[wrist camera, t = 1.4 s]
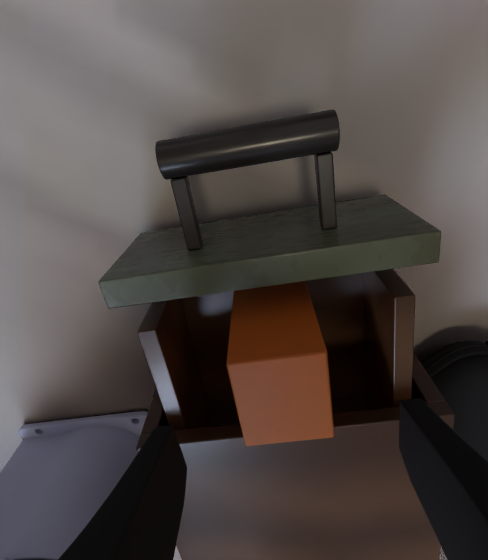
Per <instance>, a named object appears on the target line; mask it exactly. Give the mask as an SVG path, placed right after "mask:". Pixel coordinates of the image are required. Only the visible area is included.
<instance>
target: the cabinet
mask: <svg viewBox="0 0 488 560" xmlns="http://www.w3.org/2000/svg"><path fill="white" fill-rule="evenodd" d="M418 398H421V399H422V400H423V401H424V402H425V403H426V404H427V405H428V406H429V407H430V408H431V409H432V410H433V411H434V412H435V413H436V414H437V415H438V416H439V417H440V418H441V419H442V420H444V421H445V422H446V423H447V424H448V425H449V426H450V427H451V428H452V429H453V425H454V413H453V412H452V410H451V409H450V407H449V406H448V404H447V402H445V399H444V398H443V396H442V395H441V393H440V392H439V390H438V389H437V387H436V386H435V384H434V383H433V381H432V380H431V378H430V377H429V375H428V374H427V372H426V371H425V369H424V368H423V366H422V364H421V363H420V361H419V360H418V358H417V357H416V355H415V354H414V352H413V371H412V397H411V399H418ZM399 415H400V406H397V407H388V408H379V409H370V410H361V411H351V412H342V413H333V425H334V437H332V438H323V439H313V440H303V441H293V442H284V443H274V444H264V445H254V446H246V445H245V443H244V438H243V434H242V430H241V425H240V424H231V425H222V426H213V427H203V428H194V429H185V430H176V431H175V433H176V436H177V439H178V442H179V445H180V448H181V450H182V453H183V456H184V459H185V462H186V465H187V480H186V491H185V501H184V507H183V512H182V517H181V522H180V527H179V532H178V537H177V542H176V546H177V549H178V551H179V553H180V556H181V558H182V560H439V556H440V547H441V545H440V543H439V541H438V538H437V536H436V534H435V532H434V530H433V528H432V526H431V524H430V522H429V519H428V517H427V515H426V513H425V511H424V509H423V507H422V505H421V502H420V500H419V498H418V496H417V494H416V492H415V490H414V487H413V485H412V483H411V481H410V478H409V475H408V472H407V470H406V467H405V464H404V461H403V458H402V455H401V452H400V449H399ZM161 426H169V423H168V420H167V417H166V415H165V412H164V409H163V406H162V403H161V400H160V397H159V394H158V392H157V389H156V390H155V393H154V396H153V399H152V402H151V405H150V408H149V411H148V414H147V417H146V420H145V422H144V425H143V428H142V431H141V435H140V437H139V440H138V443H137V446H136V450H137V452H139V450H140V449H141V447H142V446H143V444H144V442H145V441H146V439H147V438H148V436H149V435H150V433H151V432H152V430H153V429H154V428H155V427H161Z"/></svg>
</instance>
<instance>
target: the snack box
mask: <svg viewBox="0 0 488 560" xmlns="http://www.w3.org/2000/svg"><path fill="white" fill-rule="evenodd" d="M226 365H227V370H228V374H229V378H230V383H231V387H232V391H233V395H234V400H235V404H236V408H237V413H238V417H239V421H240V425H241V430H242V434H243V438H244V443H245V445H246V446H254V445H264V444H274V443H284V442H293V441H303V440H313V439H323V438H332V437H334V425H333V414H332V402H331V390H330V378H329V366H328V355H327V350H326V347H325V343H324V340H323V337H322V334H321V330H320V327H319V324H318V321H317V317H316V314H315V311H314V308H313V304H312V301H311V298H310V295H309V291H308V288H307V285H306V282H305V281H302V282H294V283H287V284H280V285H273V286H266V287H259V288H252V289H245V290H238V291H233V302H232V312H231V322H230V332H229V343H228V353H227V363H226Z"/></svg>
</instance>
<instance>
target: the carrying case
mask: <svg viewBox="0 0 488 560" xmlns="http://www.w3.org/2000/svg"><path fill="white" fill-rule="evenodd" d="M421 364H422V366H423V368H424V369H425V371H426V372H427V374H428V375H429V377H430V378H431V380H432V381H433V383H434V384H435V386H436V387H437V389H438V390H439V392H440V393H441V395H442V396H443V398H444V399H445V402H447V404H448V406H449V407H450V409H451V410H452V412H453V413H454V425H453V430H454V431H455V432H456V433H457V434H458V435H459V436H460V437H461V438H462V439H464V440H465V441H466V442H467V443H468V444H469V445H470V446H471V447H472V448H473V449H475V450H476V451H477V452H478V453H479V454H480V455H481V456H482V457H484V458H485V459H486V460H487V461H488V341H486V342H485V343H484V342H480V341H463V342H457V343H453V344H451V345H448V346H446V347H444V348H443V349H441V350H440V351H438V352H437V353H435V354H434V355H433V356H431V357H430V358H428V359H427V360H425V361H424V362H422V363H421Z"/></svg>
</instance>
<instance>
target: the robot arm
mask: <svg viewBox="0 0 488 560" xmlns="http://www.w3.org/2000/svg"><path fill="white" fill-rule="evenodd" d="M147 414H148V412H145V411H138V412H129V413H120V414H112V415H103V416H94V417H85V418H76V419H68V420H59V421H50V422H41V423H33V424H25V425H23V426H22V427H21V428H20V429H19V434H20V435H21V437H22V439H23V441H22V442H21V444H20V445H19V447H18V448H17V450H16V451H15V452H14V454H13V455H12V457H11V458H10V460H9V461H8V463H7V464H6V466H5V467H4V468H3V470H2V471H1V473H0V560H173V557H174V552H175V547H176V542H177V537H178V532H179V527H180V522H181V517H182V512H183V507H184V501H185V491H186V480H187V465H186V462H185V459H184V456H183V453H182V450H181V448H180V445H179V442H178V439H177V436H176V433H175V430H174V427H173V425H170V426H161V427H155V428H154V429H153V430H152V432H151V433H150V435H149V436H148V438H147V439H146V441H145V442H144V444H143V446H142V447H141V449H140V450H139V452H137V450H136V446H137V443H138V440H139V437H140V435H141V431H142V428H143V425H144V422H145V420H146V417H147ZM134 418H136V419H134ZM399 449H400V452H401V455H402V458H403V461H404V464H405V467H406V470H407V472H408V475H409V478H410V481H411V483H412V485H413V487H414V490H415V492H416V494H417V496H418V498H419V500H420V502H421V505H422V507H423V509H424V511H425V513H426V515H427V517H428V519H429V522H430V524H431V526H432V528H433V530H434V532H435V534H436V536H437V538H438V541H439V543H440V545H441V547H442V549H443V551H444V553H445V555H446V557H447V560H488V461H487V460H486V459H485V458H484V457H482V456H481V455H480V454H479V453H478V452H477V451H476V450H475V449H473V448H472V447H471V446H470V445H469V444H468V443H467V442H466V441H465V440H464V439H462V438H461V437H460V436H459V435H458V434H457V433H456V432H455V431H454V430H453V429H452V428H451V427H450V426H449V425H448V424H447V423H446V422H445V421H444V420H442V419H441V418H440V417H439V416H438V415H437V414H436V413H435V412H434V411H433V410H432V409H431V408H430V407H429V406H428V405H427V404H426V403H425V402H424V401H423V400H422V399H421V398H418V399H409V400H400V415H399Z"/></svg>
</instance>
